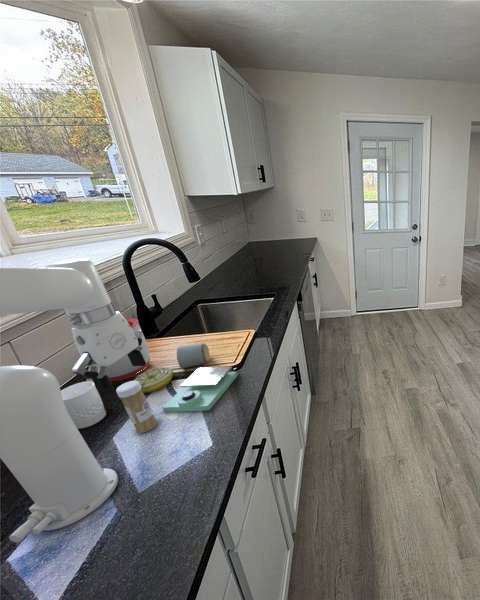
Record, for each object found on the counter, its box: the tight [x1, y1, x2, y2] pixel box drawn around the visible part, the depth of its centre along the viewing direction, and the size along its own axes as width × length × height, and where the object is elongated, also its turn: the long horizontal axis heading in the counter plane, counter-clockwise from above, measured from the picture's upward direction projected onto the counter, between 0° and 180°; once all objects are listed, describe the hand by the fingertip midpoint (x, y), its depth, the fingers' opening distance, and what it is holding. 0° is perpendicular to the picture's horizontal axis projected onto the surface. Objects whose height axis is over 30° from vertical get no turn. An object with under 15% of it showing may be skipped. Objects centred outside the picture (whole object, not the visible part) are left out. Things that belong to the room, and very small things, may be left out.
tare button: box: [183, 391, 195, 401], centre depth 88 cm, size 3×3×1 cm
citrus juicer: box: [95, 317, 151, 382], centre depth 103 cm, size 16×17×20 cm
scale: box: [162, 371, 238, 413], centre depth 94 cm, size 16×13×3 cm
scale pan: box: [180, 366, 233, 388], centre depth 97 cm, size 9×11×1 cm
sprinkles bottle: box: [115, 380, 158, 434], centre depth 80 cm, size 5×5×14 cm
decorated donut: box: [133, 367, 174, 394], centre depth 99 cm, size 10×11×4 cm
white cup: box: [60, 380, 107, 430], centre depth 84 cm, size 8×8×10 cm
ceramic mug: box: [176, 342, 210, 369], centre depth 110 cm, size 11×8×8 cm
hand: (124, 377), depth 77 cm, fingers open, 9 cm apart
